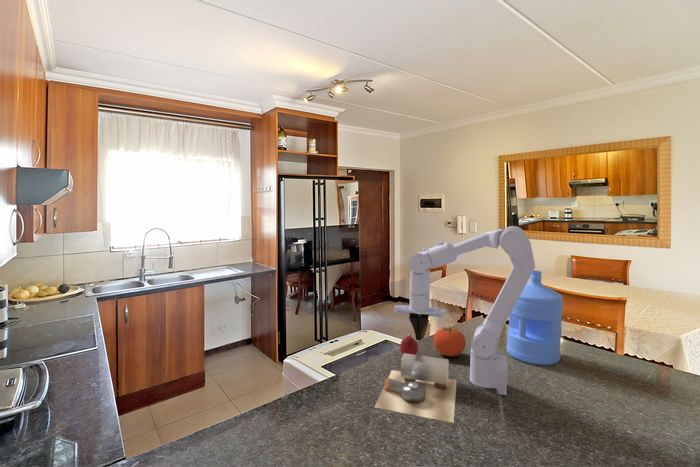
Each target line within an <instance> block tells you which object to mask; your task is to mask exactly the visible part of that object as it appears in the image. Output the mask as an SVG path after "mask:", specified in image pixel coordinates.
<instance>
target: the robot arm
mask: <svg viewBox="0 0 700 467" xmlns="http://www.w3.org/2000/svg"><path fill="white" fill-rule="evenodd" d="M499 246H500V248H501V249H502V250H503V251H504V252H505V253H506V254H507V256H508V257H509V259H510V261H511V264H512V268H511V270H510V272H509V273H508V276H507V278H506V279H505V282H504V284H503V285H502V287H501V289H500V291H499V293H498V295H497V296H496V299H495V300H494V302H493V305H492V307H491V309H490V311H488V314H487V316H486V317H485V319H484V321H483V322H482V323H481V324H480V325H478V326H477V327H476V328H475V330H474V334H473V338H472V339H471V342H470V343H471V344H470V347H471V348H470V354H469V355H470V362H469V363H470V366H469V381H470V382H471V383H472V384H473V385H475V386H476V387H479V388H484V389H496V394H497V395H501V396H507V395H508V393H507V392H508V391H507V390H508V389H507V388H508V381H509V380H508V358H507V356H506V355H503V354H500V351H498V341H499V339H500V337H501V334H502V331H503V328H504V326H505V325H506V322H507V321H508V320H509V316H510V314H511V312H512V310H513V308H514V306H515V304H516V303H517V301H518V299H519V297H520V295H521V293H522V291H523V290H524V288H525V286H526V284H528V282H529V280H530V279H531V278H530V277H531V275H532V273H533V271H535V269H536V263H535V259H534V258H535V257H534V254H533V253H534V252H533V248H532V243H531V241H530V238H529V236H528V235H527V234H526V232H525V231H524V229H522V228H521V227H520V226H517V225H510V226H507V227H505V228H504V229H503V228H498V229H493V230H489V231H486V232H482V233H481V234H478V235H476V236H473V237H471V238H468V239H465V240H463V241H460V242H457V243H451V242H449V241H446V242H444V240H443V241H440V242H438V243H437V245H434V246H432V247H428V248H427V247H425V248H423V249H422V251H418V252H415V253H414V254H412V255H410V257H409V258H408V261H407V266H408V269H409V271H410V272H409V273H410V274H409V276H410V277H409V305H405V304H404V305H403V304H401V305H400V304H399V305H397V304H395V305H394V307H393V313H394V314H408V315H409V316H408V319H409V322H410V323H411V326H412V328H413V330H414V335H415V340H416V341H421V340H422V337H423V331H424V329H425V326H426V324H427V322H428V320H429V317H436V318H440V319H445V318H446V309H442V308H441V309H440V308H436V307H430V303H431V300H430V296H431V276H430V275H431V274H430V272H431V270H430V269H436V268H439V267H442V266H445V265H448V264H452V263H454V262H456V260H457V258H458V256H459V255H462V254H463V255H464V254H466V253H469V252H472V251H475V250H476V251H477V250H480V249H482V248H487V247H488V248H493V249H498V248H499Z"/></svg>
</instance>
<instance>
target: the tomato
mask: <svg viewBox="0 0 700 467" xmlns="http://www.w3.org/2000/svg"><path fill="white" fill-rule="evenodd" d="M432 339H433V346H434V347H435V349H436V351H437V352H438V353H439V354H441V355H443V356H446V357H456V356H459V355H460V354H461V353H463V351H464V350H465V348H466V345H467V344H466V343H467V342H466V341H467V340H466V338H465V336H464V334H463V332H461V330H459V329H458V328H456V327H452V326H451V325H449V326H446V327H445V326H443V327H440V328H439V329H438V330H437V331H435V333H434V334H433V338H432Z"/></svg>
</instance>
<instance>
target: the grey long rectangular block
mask: <svg viewBox="0 0 700 467" xmlns="http://www.w3.org/2000/svg"><path fill="white" fill-rule="evenodd" d="M449 364H450V363H449V359H448V358H447V359H446V358H442V357H441V358H439V357H433V356H427V355H419V354H416V355H413V354H406V353H404V354H402V356H401V358H400V371H401V377H403V378H409V379H415V380H421V381H427V382H433V383H439V384H445V385H447V383H448V379H449Z"/></svg>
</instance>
